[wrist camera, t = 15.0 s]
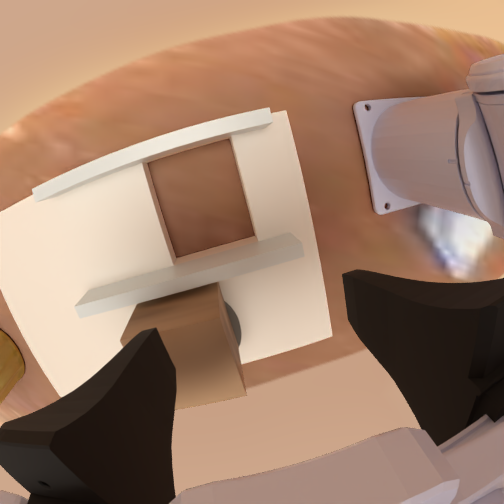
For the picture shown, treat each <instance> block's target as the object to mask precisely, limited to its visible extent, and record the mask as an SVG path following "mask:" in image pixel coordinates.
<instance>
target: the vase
mask: <svg viewBox="0 0 504 504" xmlns="http://www.w3.org/2000/svg"><path fill="white" fill-rule="evenodd" d="M24 369H25V368H24V362H23V359H22V356H21V354H20V352H19V350H18V348H17V346H16V345H15V344H14V342H13V341H12V340H11V339H10V338H9V337H8V336H7V335H6V334H5V333H4V332H3V331H1V330H0V404H1V403H2V402H3V400H4V399H5V398H6V396H7V395H8V393H9V392H10V391H11V390H12V388H13V387H14V385H15V384H16V382H17V381H18V380H20V379H21V378H22V377H23V375H24Z"/></svg>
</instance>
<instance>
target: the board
mask: <svg viewBox="0 0 504 504" xmlns="http://www.w3.org/2000/svg"><path fill="white" fill-rule="evenodd" d="M271 115H272V119H273V123H271V124H270V125H269V126H267V127H266V128H263V129H259V130H254V131H250V132H246V133H241V134H237V135H233V136H229V137H226V138H222V139H218V140H214V141H210V142H207V143H203V144H200V145H196V146H193V147H189V148H186V149H183V150H179V151H176V152H173V153H170V154H167V155H163V156H160V157H157V158H154V159H151V160H148V161H145V162H143V163H140V164H137V165H134V166H131V167H128V168H126V169H123V170H120V171H118V172H115V173H112V174H110V175H107V176H104V177H102V178H99V179H97V180H94V181H92V182H89V183H87V184H85V185H82V186H80V187H77V188H75V189H73V190H70V191H68V192H66V193H64V194H61V195H59V196H57V197H54V198H51V199H47V200H43V201H39V202H36V203H35V199H34V196H33V195H31V196H29V197H27V198H25V199H24V200H22V201H20V202H18V203H16V204H14V205H12V206H11V207H9V208H7V209H5V210H3V211H2V212H0V289H1V291H2V293H3V296H4V298H5V300H6V302H7V305H8V307H9V309H10V311H11V313H12V315H13V317H14V319H15V321H16V323H17V325H18V327H19V329H20V331H21V333H22V335H23V337H24V339H25V341H26V342H27V344H28V346H29V348H30V350H31V351H32V353H33V355H34V356H35V358H36V360H37V362H38V363H39V365H40V366H41V368H42V370H43V371H44V373H45V374H46V376H47V378H48V379H49V381H50V382H51V384H52V385H53V387H54V388H55V390H56V391H57V393H58V394H59V395H60V397H64V396H65V395H67V394H69V393H70V392H72V391H73V390H75V389H76V388H78V387H79V386H80V385H82V384H83V383H84V382H86V381H87V380H88V379H90V378H91V377H92V376H93V375H94V374H96V373H97V372H98V371H99V370H100V369H101V368H102V367H103V366H104V365H106V364H107V363H108V362H109V361H110V360H111V359H112V358H113V357H114V356H115V355H116V354H117V353H118V352H119V351H120V350H121V349H122V348H123V346H122V344H121V342H120V339H121V336H122V334H123V332H124V330H125V328H126V326H127V324H128V321H129V319H130V317H131V315H132V313H133V311H134V309H135V307H136V305H137V304H134V305H130V306H126V307H123V308H119V309H115V310H111V311H107V312H103V313H100V314H96V315H92V316H88V317H84V318H79V316H78V314H77V312H76V310H75V308H74V306H75V305H76V304H77V303H78V302H79V300H80V299H81V298H82V297H83V296H84V295H85V294H86V292H87V291H88V290H91V289H95V288H98V287H101V286H105V285H108V284H112V283H115V282H118V281H122V280H125V279H129V278H132V277H136V276H139V275H142V274H146V273H149V272H153V271H156V270H160V269H163V268H167V267H170V266H174V265H177V264H180V263H184V262H187V261H191V260H194V259H198V258H201V257H205V256H208V255H212V254H215V253H219V252H222V251H226V250H229V249H233V248H237V247H240V246H244V245H247V244H251V243H254V242H258V241H261V240H265V239H268V238H272V237H276V236H279V235H283V234H286V233H292V234H293V235H294V236H295V237H296V238H297V239H298V240H300V241H301V242H302V245H303V250H304V255H305V257H301V258H298V259H295V260H291V261H288V262H284V263H281V264H278V265H274V266H271V267H267V268H264V269H260V270H257V271H253V272H250V273H246V274H243V275H239V276H236V277H232V278H229V279H225V280H222V281H218V282H219V286H220V289H221V292H222V296H223V299H224V301H225V302H226V303H228V304H229V305H230V306H231V308H232V309H233V310H234V311H235V313H236V315H237V317H238V319H239V322H240V327H241V343H240V346H239V354H240V360H241V364H244V363H248V362H251V361H255V360H259V359H262V358H266V357H269V356H272V355H276V354H279V353H282V352H286V351H289V350H292V349H295V348H299V347H302V346H305V345H308V344H311V343H314V342H317V341H320V340H323V339H326V338H329V337H331V336H332V330H331V323H330V317H329V310H328V304H327V298H326V292H325V286H324V280H323V274H322V269H321V263H320V258H319V253H318V247H317V242H316V237H315V232H314V227H313V222H312V217H311V212H310V208H309V203H308V198H307V194H306V189H305V185H304V181H303V176H302V172H301V168H300V163H299V159H298V155H297V151H296V147H295V143H294V139H293V135H292V131H291V127H290V123H289V120H288V116H287V112H286V110H285V111H280V112H274V113H271ZM225 139H230V142H231V146H232V150H233V154H234V158H235V161H236V165H237V169H238V173H239V176H240V180H241V184H242V188H243V192H244V195H245V199H246V203H247V207H248V211H249V215H250V218H251V222H252V226H253V230H254V234H255V236H252V237H248V238H245V239H241V240H238V241H234V242H231V243H227V244H224V245H220V246H217V247H213V248H210V249H206V250H203V251H199V252H196V253H192V254H189V255H185V256H182V257H179V258H176V256H175V253H174V250H173V247H172V244H171V241H170V237H169V234H168V231H167V228H166V225H165V222H164V219H163V215H162V212H161V209H160V206H159V202H158V199H157V196H156V192H155V189H154V185H153V182H152V178H151V175H150V171H149V168H148V164H147V163H148V162H151V161H154V160H157V159H160V158H164V157H167V156H170V155H173V154H176V153H179V152H183V151H186V150H189V149H193V148H196V147H200V146H203V145H207V144H210V143H214V142H218V141H222V140H225Z"/></svg>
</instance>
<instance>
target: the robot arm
mask: <svg viewBox="0 0 504 504" xmlns="http://www.w3.org/2000/svg"><path fill="white" fill-rule="evenodd" d="M466 83H467V85H468V87H469V89H463V90H458V91H453V92H448V93H443V94H438V95H433V96H428V97H407V98H391V99H378V100H367V101H359V102H356V103H355V104H354V106H353V111H354V115H355V119H356V123H357V127H358V131H359V135H360V140H361V144H362V149H363V154H364V158H365V163H366V169H367V174H368V179H369V185H370V191H371V197H372V203H373V209H374V211H375V213H377V214H379V215H383V214H386V213H390V212H393V211H397V210H400V209H404V208H407V207H411V206H414V205H418V204H421V203H423V204H427V205H431V206H435V207H439V208H442V209H446V210H450V211H453V212H457V213H461V214H464V215H468V216H471V217H474V218H478V219H481V220H484V221H487V222H488V223H489V224H490V226H491V228H492V231H493V235H494V236H497V237H500V238H502V239H504V54H501V55H497V56H494V57H490V58H487V59H484V60H481V61H478V62H476V63H474V64H472V65H471V67H470V70H469V75H467V76H466ZM365 105H367V106H368V108H369V110H368V111H367V110H366V109H365ZM385 203H387V204H388V206H387V208H386V209H385V207H384V205H385ZM342 277H343V284H344V292H345V299H346V307H347V315H348V320H349V322H350V324H351V326H352V327H353V329H354V331H355V332H356V334H357V335H358V337H359V338H360V340H361V341H362V342H363V343H364V345H365V346H366V347H367V348H368V349H369V351H370V352H371V353H372V354H373V355H374V357H375V358H376V359H377V360H378V361H379V363H380V364H381V365H382V366H383V367H384V368H385V370H386V371H387V372H388V373H389V375H390V376H391V377H392V379H393V380H394V381H395V383H396V385H397V386H398V388H399V389H400V391H401V392H402V394H403V396H404V397H405V399H406V401H407V403H408V404H409V406H410V408H411V410H412V412H413V413H414V415H415V417H416V419H417V421H418V423H419V425H420V427H421V429H422V430H421V429H414V428H407V427H406V428H398V429H395V430H392V431H389V432H385V433H382V434H379V435H375V436H372V437H370V438H367V439H365V440H362V441H360V442H357V443H355V444H352V445H350V446H347V447H345V448H342V449H339V450H337V451H334V452H331V453H328V454H325V455H322V456H319V457H316V458H313V459H310V460H307V461H303V462H301V463H297V464H293V465H290V466H286V467H282V468H279V469H275V470H271V471H267V472H262V473H258V474H253V475H249V476H243V477H238V478H233V479H227V480H221V481H215V482H211V483H208V484H204V485H200V486H197V487H193V488H189V489H186V490H184V491H183V492H181V493H180V494H179V495H178V496H177V497H176V496H175V489H174V480H173V469H172V450H171V443H172V429H173V420H174V411H175V402H176V393H177V380H176V368H175V366H174V364H173V362H172V360H171V358H170V356H169V354H168V352H167V350H166V347H165V345H164V343H163V341H162V339H161V337H160V334H159V332H158V330H157V328H156V327H155V328H151V329H147V330H143V331H141V332H140V333H138V334H137V335H136V336H135V337H134V338H132V339H131V340H130V341H129V342H128V343H127V344H126V345H125V346H124V347H123V348H122V349H121V350H120V351H119V352H118V353H117V354H116V355H115V356H114V357H113V358H112V359H111V360H110V361H109V362H108V363H107V364H106V365H104V366H103V367H102V368H101V369H100V370H99V371H98V372H97V373H96V374H94V375H93V376H92V377H91V378H90V379H88V380H87V381H86V382H84V383H83V384H82V385H80V386H79V387H78V388H76V389H75V390H73V391H72V392H70V393H69V394H67V395H65V396H64V397H62V398H61V399H59V400H57V401H56V402H54V403H52V404H50V405H48V406H46V407H44V408H42V409H40V410H38V411H35V412H33V413H31V414H28V415H26V416H23V417H20V418H17V419H14V420H11V421H8V422H5V423H4V424H3V425H2V426H1V428H0V465H1V466H2V467H3V468H4V469H5V470H6V471H7V472H8V473H9V474H10V475H11V476H12V477H13V478H14V479H15V480H16V481H17V482H18V483H20V484H21V485H22V486H23V487H24V488H25V489H26V490H27V491H29V492H30V493H31V494H30V497H29V500H28V499H26V498H24V497H22V496H19V495H17V494H13V493H10V492H6V491H3V490H1V491H0V504H504V278H502V279H496V280H490V281H483V282H472V283H436V282H424V281H417V280H411V279H405V278H399V277H394V276H390V275H385V274H381V273H376V272H371V271H366V270H353V271H350V272H347V273H344V274H342Z"/></svg>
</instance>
